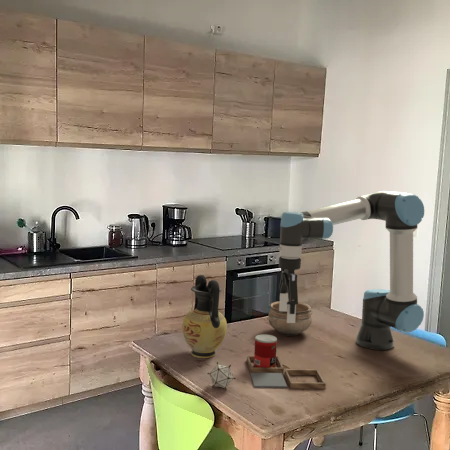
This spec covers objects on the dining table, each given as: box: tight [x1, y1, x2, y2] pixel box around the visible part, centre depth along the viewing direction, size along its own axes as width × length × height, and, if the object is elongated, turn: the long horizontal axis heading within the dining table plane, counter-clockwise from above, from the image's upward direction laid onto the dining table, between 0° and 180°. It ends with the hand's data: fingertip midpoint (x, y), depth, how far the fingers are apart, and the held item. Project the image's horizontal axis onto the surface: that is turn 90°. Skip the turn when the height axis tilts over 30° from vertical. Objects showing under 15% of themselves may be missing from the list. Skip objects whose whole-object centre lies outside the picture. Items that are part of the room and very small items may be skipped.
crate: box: [246, 355, 285, 374], centre depth 198 cm, size 12×12×2 cm
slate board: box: [250, 373, 288, 389], centre depth 185 cm, size 11×11×1 cm
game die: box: [207, 361, 236, 391], centre depth 178 cm, size 9×8×10 cm
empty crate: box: [283, 368, 327, 390], centre depth 186 cm, size 12×12×2 cm
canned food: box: [253, 333, 278, 368], centre depth 197 cm, size 8×8×11 cm
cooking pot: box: [266, 300, 313, 337], centre depth 236 cm, size 25×19×12 cm
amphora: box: [182, 274, 228, 359], centre depth 206 cm, size 18×17×30 cm
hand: (286, 316), depth 189 cm, fingers open, 13 cm apart
